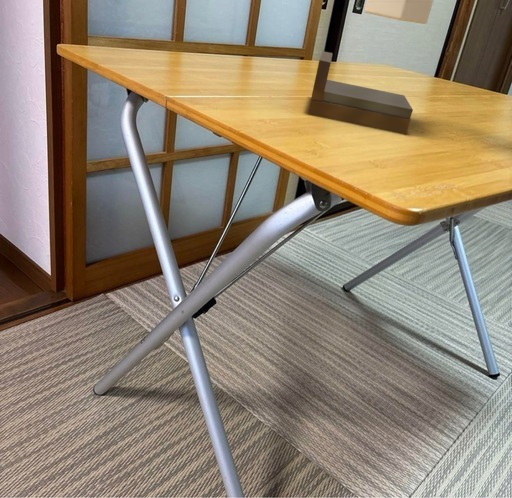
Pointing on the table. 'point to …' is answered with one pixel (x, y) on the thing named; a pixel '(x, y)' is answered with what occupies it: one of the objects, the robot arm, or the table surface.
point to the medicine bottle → (401, 9)
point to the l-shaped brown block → (357, 103)
